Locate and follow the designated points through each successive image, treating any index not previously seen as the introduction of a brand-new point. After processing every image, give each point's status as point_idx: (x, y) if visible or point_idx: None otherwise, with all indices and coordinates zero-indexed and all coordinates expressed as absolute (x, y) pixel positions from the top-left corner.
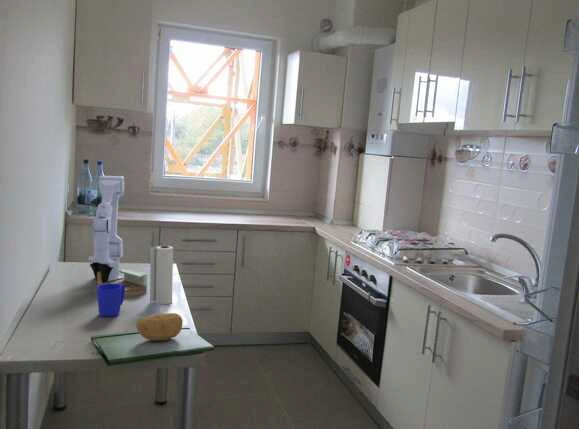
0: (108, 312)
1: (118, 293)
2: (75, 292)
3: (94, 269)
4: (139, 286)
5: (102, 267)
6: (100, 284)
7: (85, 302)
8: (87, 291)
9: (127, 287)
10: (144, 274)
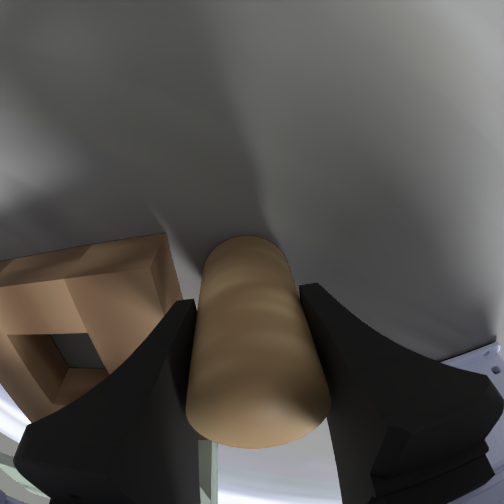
0: None
1: None
2: (329, 44)
3: (351, 376)
4: (28, 413)
5: (16, 454)
6: (214, 276)
7: (5, 22)
8: (287, 144)
9: (16, 368)
10: (22, 485)
